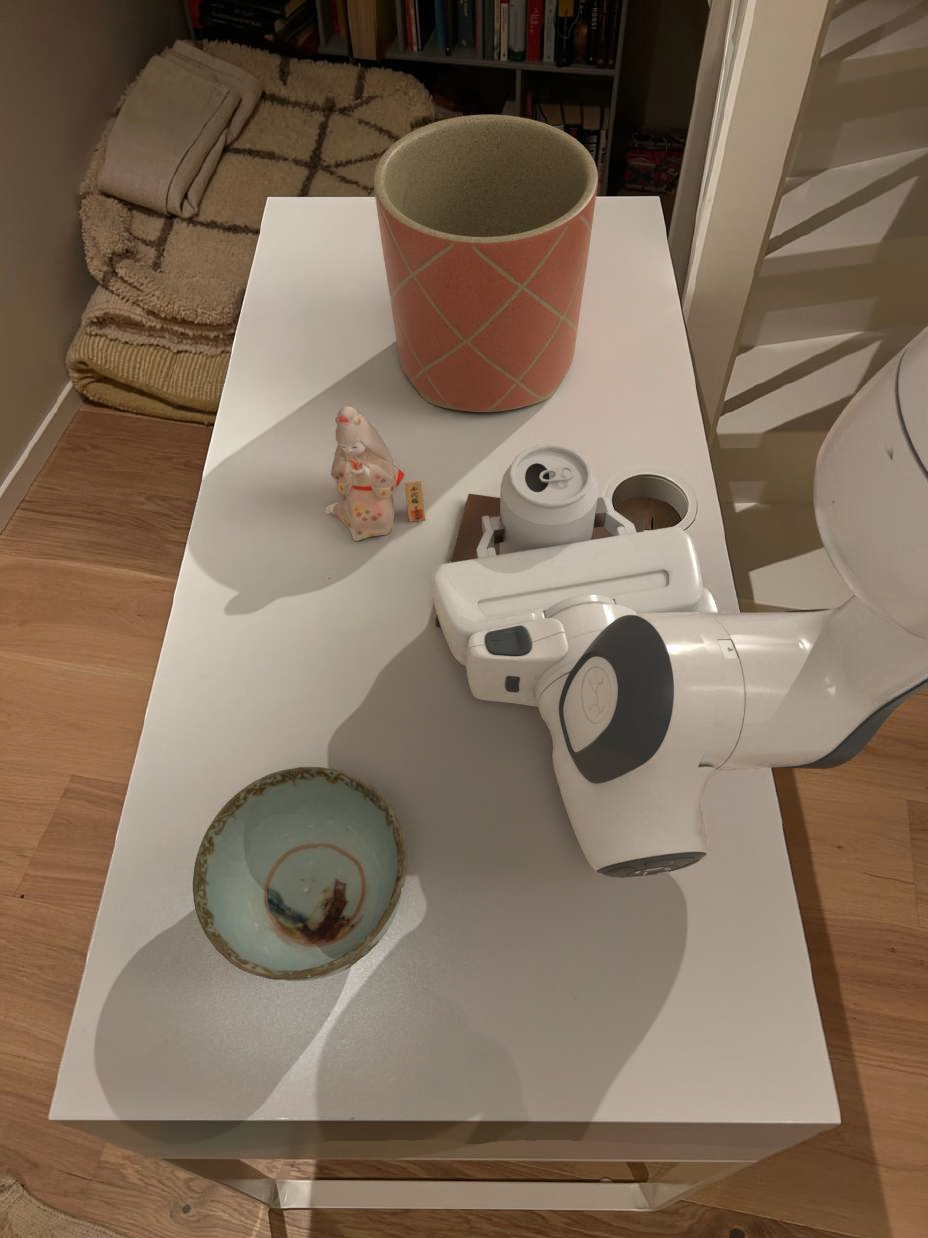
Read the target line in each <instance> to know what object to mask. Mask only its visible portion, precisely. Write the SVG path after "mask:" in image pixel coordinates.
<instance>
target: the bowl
mask: <svg viewBox="0 0 928 1238" xmlns="http://www.w3.org/2000/svg"><path fill="white" fill-rule="evenodd" d="M403 830H404V829H403V827H402V825H401V823H400V821H399V818H398V816H397V814H396V812H395V811H394V809H393V807H392V806H391V805H390V803H389V802H388V801H387V800H386V798H384V796H382V794H380V793H379V791H377V790H376V789H375V788H374V787H372V785H369V784H368V783H366V782H365V781H363V780H362V779H361V778H357V777H356V776H353V775H350V774H348V773H347V772H343V771H341V770H337V769H333V768H328V767H321V766H298V767H293V768H287V769H283V770H279V771H278V770H277V771H274V772H272V773H269V774H267V775H265V776H262V777H261V778H258V779H256V780H254V781H252V782H251V783H249V784H248V785H247V786H245V787H244V788H242V789H241V790H240V791H238V792H237V793H236V794H235V795H233V796H232V797H231V798H230V799H229V800H228V801H227V802H226V803H225V804H224V805H223V807H222V808H221V809H220V810H219V812H218V813H217V814H216V815H215V817H214V818H213V820H212V821H211V823H210V824H209V826H208V827H207V829H206V832H205V833H204V835H203V838H202V840H201V842H200V846H199V847H198V851H197V854H196V857H195V862H194V866H193V876H192V895H193V896H192V897H193V904H194V910H195V913H196V916H197V919H198V922H199V925H200V926H201V928H202V930H203V932H204V934H205V936H206V937H207V939H208V940H209V942H210V943H211V944H212V946H213V947H214V949H215V950H216V951H217V952H218V953H219V954H220V955H221V956H222V957H224V959H226V960H227V961H228V963H230V964H231V965H233V966H235V967H236V968H238V969H239V970H241V971H243V972H245V973H248V974H250V975H253V976H257V977H260V978H264V979H268V980H273V981H288V982H307V981H314V980H319V979H323V978H327V977H330V976H334V975H336V974H338V973H341V972H344V971H346V970H348V969H350V968H351V967H352V966H353V965H355V964H357V963H358V962H359V961H360V960H361V959H363V958H364V957H366V956H367V955H368V954H370V952H371V951H372V950H373V949H374V948H375V947H376V946H377V945H378V944H379V943H380V942H381V940H382V938H383V937H384V936H385V935H386V933H387V932H388V930H389V928H390V926H391V925H392V924H393V921H394V919H395V917H396V914H397V912H398V909H399V907H400V905H401V899H402V896H403V892H404V891H403V890H404V887H405V882H406V879H407V873H408V864H409V863H408V862H409V861H408V860H409V855H408V844H407V841H406V838H405V834H404V831H403Z"/></svg>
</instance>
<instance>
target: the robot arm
mask: <svg viewBox="0 0 928 1238" xmlns="http://www.w3.org/2000/svg"><path fill="white" fill-rule="evenodd" d="M815 461H816V462H815V466H814V467H815V468H814V475H813V488H812V489H813V493H812V501H813V511H814V517H815V524H816V527H817V530H818V533H819V537H820V539H821V542H822V546H823V547H824V549H825V552H826V554H827V556H828V558H829V560H830V562H831V564H832V566H833V568H834V569H835V571H836V572H837V574H838V575H839V577H840V578H841V580H842V581H843V582H844V584H845V585H846V587H847V588H848V589H849V590H850V591H851V593H852V594H853V595H852V596H851V597H850V598H848V600H846V601H845V602H844V603H843V604H841V605H839V606H837V607H834V608H833V607H832V608H813V609H794V610H787V611H782V612H781V611H775V612H774V611H773V612H772V611H771V612H769V611H767V612H766V611H765V612H763V611H762V612H719V609H718V606H717V603H716V601H715V599H714V596H713V594H712V593H711V591H710V590H709V589H708V588H707V587H705V586H704V583H703V574H702V571H701V565H700V559H699V556H698V553H697V549H696V547H695V543H694V541H693V538H692V536H691V534H690V533H688V532H687V531H685V530H683V529H682V528H680V527H679V526H668V527H662V528H656V529H650V530H644V532H636V529H635V526H634V524H633V523H631V522H630V521H629V520H627V519H626V518H624V517H623V516H622V515H623V514H621V513H619V512H618V511H616V510H614V507H613V504H612V502H611V498H610V497H609V496H603V497H598V499H597V506H596V512H595V519H594V528H596V527H603V526H604V527H605V528H606V529H607V530H608V531H609V532H610V533H611V534H612V535H613V537H607V538H601V539H594V540H588V541H582V542H576V543H570V544H563V545H557V546H551V547H545V548H539V549H533V550H527V551H520V552H514V553H508V554H502V555H496V552H495V548H493V546H494V544H497V543H503V542H504V535H503V534H504V526H503V523H502V521H501V515H500V514H496V515H489V516H482V530H483V537H482V539H481V541H480V543H479V545H478V548H477V559H471V560H465V561H459V562H452V563H450V562H446V563H442V564H439V566H437V568H436V570H434V572H433V574H432V576H431V590H432V597H433V602H434V608H435V611H436V615H438V619H439V622H440V625H441V627H440V628H441V630H442V634H443V636H444V638H445V641H446V643H447V646H448V648H449V650H450V652H451V654H452V655H453V657H454V658H455V659H456V661H458V663H460V664H461V665H462V666H465V669H466V670H465V671H466V676H467V677H466V678H467V682H468V686H469V688H470V692H471V694H472V696H473V697H474V698H475V699H478V700H482V701H488V702H497V703H498V702H499V703H508V704H514V705H515V704H516V705H523V706H528V707H529V706H530V707H536V708H538V711H539V713H540V717H541V718H542V720H543V722H544V723H545V725H546V726H547V728H548V730H549V732H550V737H551V740H552V752H551V753H552V755H551V756H552V766H553V771H554V773H555V778H556V781H557V786H558V788H559V792H560V795H561V797H562V802H563V804H564V807H565V811H566V813H567V816H568V819H569V822H570V824H571V828H572V829H573V832H574V835H575V837H576V839H577V842H578V844H579V846H580V849H581V850H582V853H583V855H584V856H585V859H586V860H587V862H588V864H589V866H590V867H591V868H592V870H593V871H594V872H596V873H598V874H602V875H604V876H605V877H609V878H618V879H621V878H622V879H624V878H625V879H626V878H634V877H635V878H636V877H644V876H654V875H657V874H660V873H667V872H668V873H670V872H674V871H678V870H682V869H685V868H688V867H691V866H692V865H695V864H697V863H698V862H700V861H701V860H702V859H704V858H705V857H706V856H707V855H708V853H709V839H708V831H707V826H706V820H705V816H704V810H703V806H702V799H703V796H704V792H705V790H706V787H707V785H708V783H709V781H710V779H711V778H712V776H713V775H714V774H715V773H716V772H726V771H739V770H758V769H770V768H772V769H773V768H781V769H782V768H783V769H804V770H805V769H807V770H808V769H811V770H828V769H832V768H833V769H834V768H836V767H840V766H842V765H844V764H846V763H847V762H849V761H851V760H853V758H855V757H856V756H857V755H859V754H860V753H861V751H862V750H864V748H865V747H866V746H867V745H868V744H869V742H870V741H871V740H872V739H873V738H874V736H875V735H876V733H878V731H879V729H881V727H882V725H883V724H884V723H885V722H886V720H887V719H888V718H889V717H890V715H892V713H893V712H894V711H895V710H896V709H897V708H898V707H899V706H901V705H902V704H903V703H904V702H905V701H906V700H908V699H910V698H911V697H913V696H914V695H916V694H918V693H919V692H921V691H922V690H924V689H926V688H927V687H928V325H927V326H925V327H924V328H923V329H922V330H921V331H920V332H919V333H918V334H917V335H916V336H915V337H913V338H912V339H911V340H910V341H909V342H908V343H907V344H906V345H905V346H903V348H901V350H900V351H899V352H898V353H896V355H894V356H893V357H892V358H891V359H890V360H889V361H888V362H887V363H886V364H884V366H883V367H882V368H880V369H879V370H878V371H877V372H876V373H874V375H873V376H872V377H871V378H870V379H869V380H868V381H867V382H866V383H865V384H863V386H862V387H861V388H860V389H859V390H858V391H857V393H856V394H855V395H854V396H853V397H852V398H851V399H850V401H849V402H848V403H847V405H846V406H845V407H844V408H843V410H842V411H841V412H840V414H839V415H838V417H837V418H836V420H835V421H834V423H833V424H832V426H831V428H830V429H829V430H828V432H827V434H826V436H825V437H824V440H823V442H822V443H821V446H820V448H819V449H818V453H817V457H816V460H815Z"/></svg>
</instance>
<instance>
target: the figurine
mask: <svg viewBox="0 0 928 1238" xmlns="http://www.w3.org/2000/svg"><path fill="white" fill-rule="evenodd" d="M334 419H335V423H336V428H335V441H336V443H337V446H336V449H335V452H334V457H333V461H332V465H331V468H330V469H331V470H330V476H331V478H332V479H333V480H334V481H335V482H336V488H337V489H336V490H337V491H338V492H339V493H340V494H342V495H345V499H342V500H340V501H337V502H336V503H331V504H329V505H327V506H325V507H326V508H325V513H326V515H330V514H333V515H335V516H336V517H337V518H338V519H339V520H341V522H343V524H345V525H346V526H347V528H348V529H349V530H350V533H351V536H352V539H353V540H354V541H355V542H359V541H361V540H364V539H367V538H370V537H378V536H385V535H388V534H390V532H391V531H392V528H393V525H394V521H395V499H394V494H393V493H394V492H395V489H396V487H398V486H399V485H400V484H401V482H402V481H403V479H404V477H405V473H404V471H402V470H401V469H399V467H397V466H396V465H394V458H393V456H392V454H391V452H390V450H389V448H388V446H387V444H386V443H385V441H384V439H383V438H382V436H381V434H380V433H379V432H378V430H376V428H375V427H374V426H373V425H372V424H371V423H370V421H369V420H368V419H366V417H364V416H363V415H361V414H360V413H359V412H358V411H357V410H356V409H355V408H354V407H352V406H343V407H341V409H339V411H338V412H337V416H336V417H335V418H334ZM404 492H405V499H406V500H405V501H406V507H407V516H408V519H407V521H408V522H419V521H425V520H426V512H425V511H426V510H425V503H424V502H425V501H424V495H423V494H424V493H423V486H422V481H421V480H417V481H416V480H415V481H408V482H404Z"/></svg>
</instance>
